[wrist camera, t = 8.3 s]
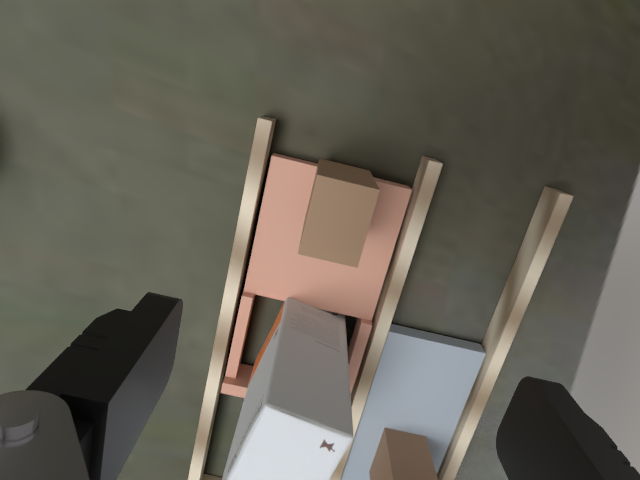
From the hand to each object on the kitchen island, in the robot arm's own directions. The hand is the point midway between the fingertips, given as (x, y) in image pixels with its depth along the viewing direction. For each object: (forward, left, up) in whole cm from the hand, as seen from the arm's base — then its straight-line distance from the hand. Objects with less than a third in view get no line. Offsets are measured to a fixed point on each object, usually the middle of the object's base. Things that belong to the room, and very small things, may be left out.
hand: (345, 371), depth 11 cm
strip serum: (+6, 0, -19) cm, 19 cm away
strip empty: (+15, +9, -19) cm, 26 cm away
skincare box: (+10, 0, -19) cm, 21 cm away
